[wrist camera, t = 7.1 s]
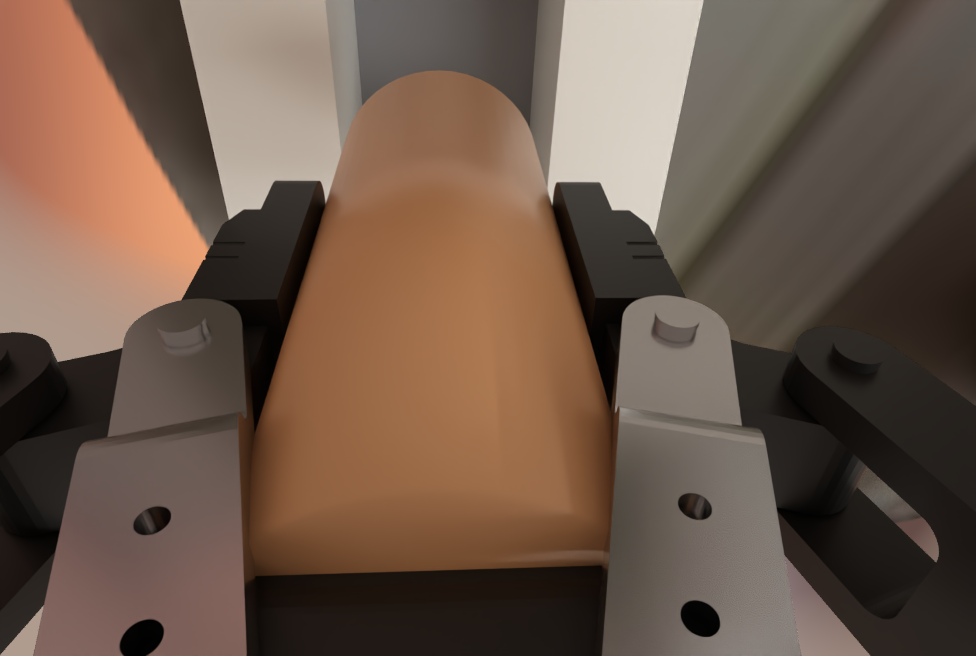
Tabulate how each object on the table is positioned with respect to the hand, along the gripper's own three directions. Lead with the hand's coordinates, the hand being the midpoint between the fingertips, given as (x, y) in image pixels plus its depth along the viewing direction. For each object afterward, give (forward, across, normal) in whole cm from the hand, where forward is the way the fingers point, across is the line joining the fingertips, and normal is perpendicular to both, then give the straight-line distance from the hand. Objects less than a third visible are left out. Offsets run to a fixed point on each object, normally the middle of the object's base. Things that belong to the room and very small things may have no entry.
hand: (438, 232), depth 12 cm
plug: (+3, 0, 0) cm, 3 cm away
